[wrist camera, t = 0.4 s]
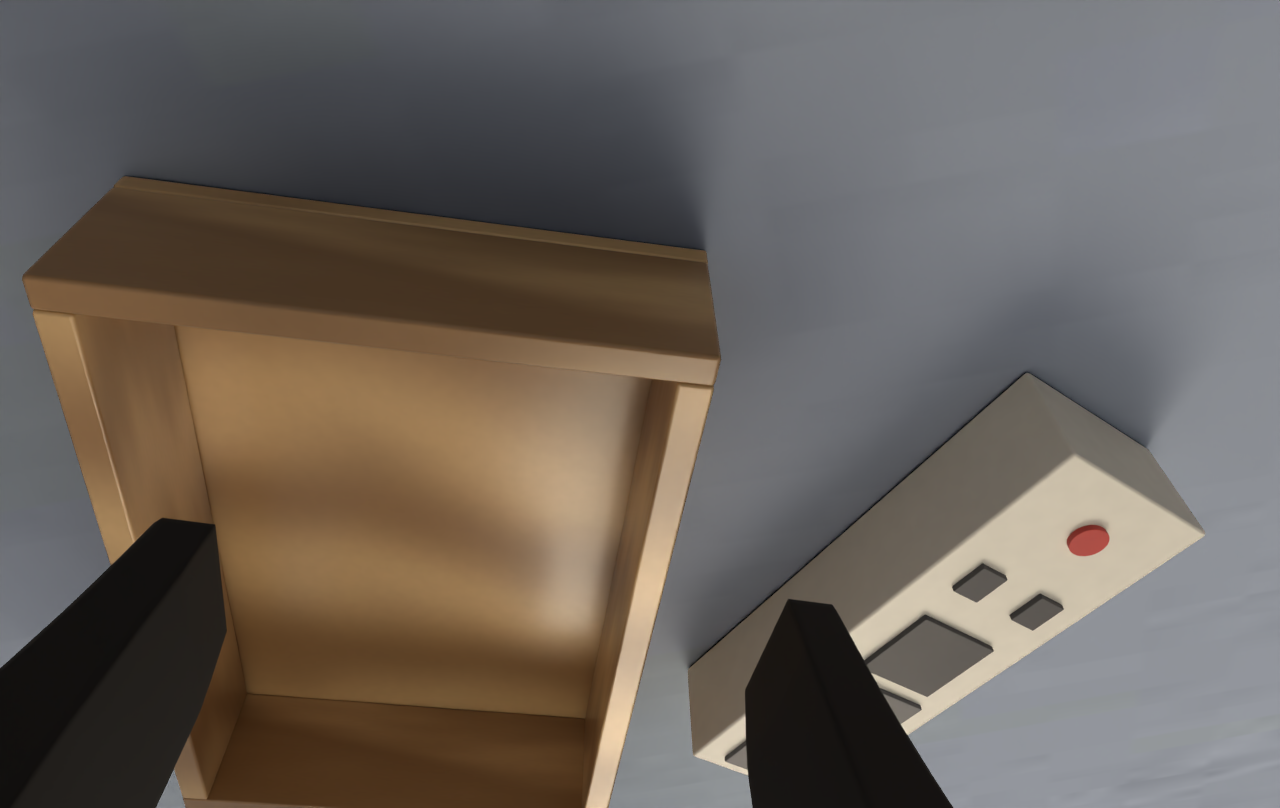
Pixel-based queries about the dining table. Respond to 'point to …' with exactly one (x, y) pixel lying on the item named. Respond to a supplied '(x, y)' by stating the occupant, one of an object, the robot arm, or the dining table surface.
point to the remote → (968, 562)
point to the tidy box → (390, 479)
